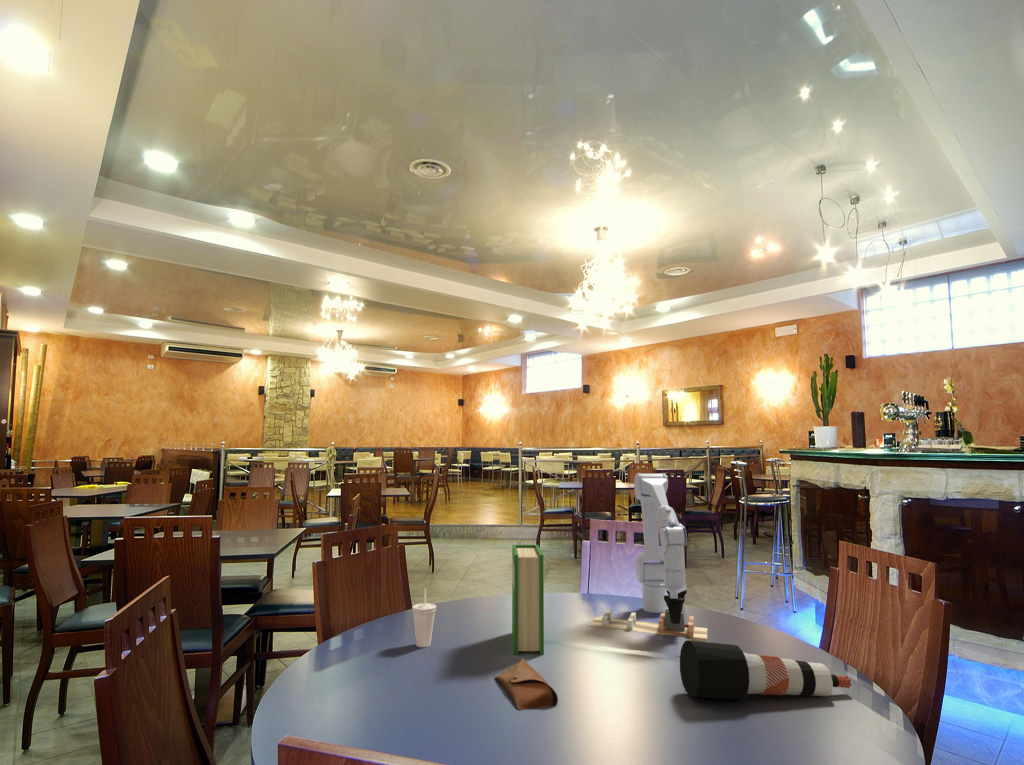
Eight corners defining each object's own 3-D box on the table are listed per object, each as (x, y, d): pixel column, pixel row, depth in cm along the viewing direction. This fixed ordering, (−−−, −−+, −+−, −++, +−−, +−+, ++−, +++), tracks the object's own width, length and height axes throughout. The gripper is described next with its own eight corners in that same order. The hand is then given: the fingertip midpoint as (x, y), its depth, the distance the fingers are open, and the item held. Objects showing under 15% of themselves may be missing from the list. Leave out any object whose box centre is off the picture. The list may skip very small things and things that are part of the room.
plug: (666, 627, 154) (665, 605, 155) (685, 629, 152) (684, 606, 153) (665, 630, 151) (664, 608, 152) (684, 632, 149) (683, 610, 150)
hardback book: (543, 654, 135) (543, 555, 138) (514, 654, 134) (514, 555, 138) (538, 632, 152) (538, 544, 156) (512, 632, 152) (512, 544, 155)
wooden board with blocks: (595, 620, 164) (595, 606, 165) (707, 631, 153) (706, 617, 154) (588, 629, 155) (588, 615, 155) (707, 642, 144) (706, 627, 144)
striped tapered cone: (854, 722, 109) (871, 684, 106) (691, 708, 108) (703, 668, 104) (826, 680, 119) (841, 644, 116) (676, 666, 117) (686, 629, 114)
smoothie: (438, 641, 144) (439, 586, 146) (432, 649, 138) (433, 592, 140) (414, 640, 145) (416, 586, 147) (407, 648, 139) (409, 591, 141)
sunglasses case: (490, 676, 120) (505, 647, 122) (515, 690, 122) (530, 661, 124) (518, 711, 104) (535, 677, 106) (547, 726, 105) (563, 693, 107)
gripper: (662, 564, 162) (663, 611, 160) (657, 573, 148) (659, 625, 146) (686, 565, 159) (688, 613, 157) (684, 575, 146) (686, 628, 144)
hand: (676, 619), depth 152 cm, fingers open, 7 cm apart
